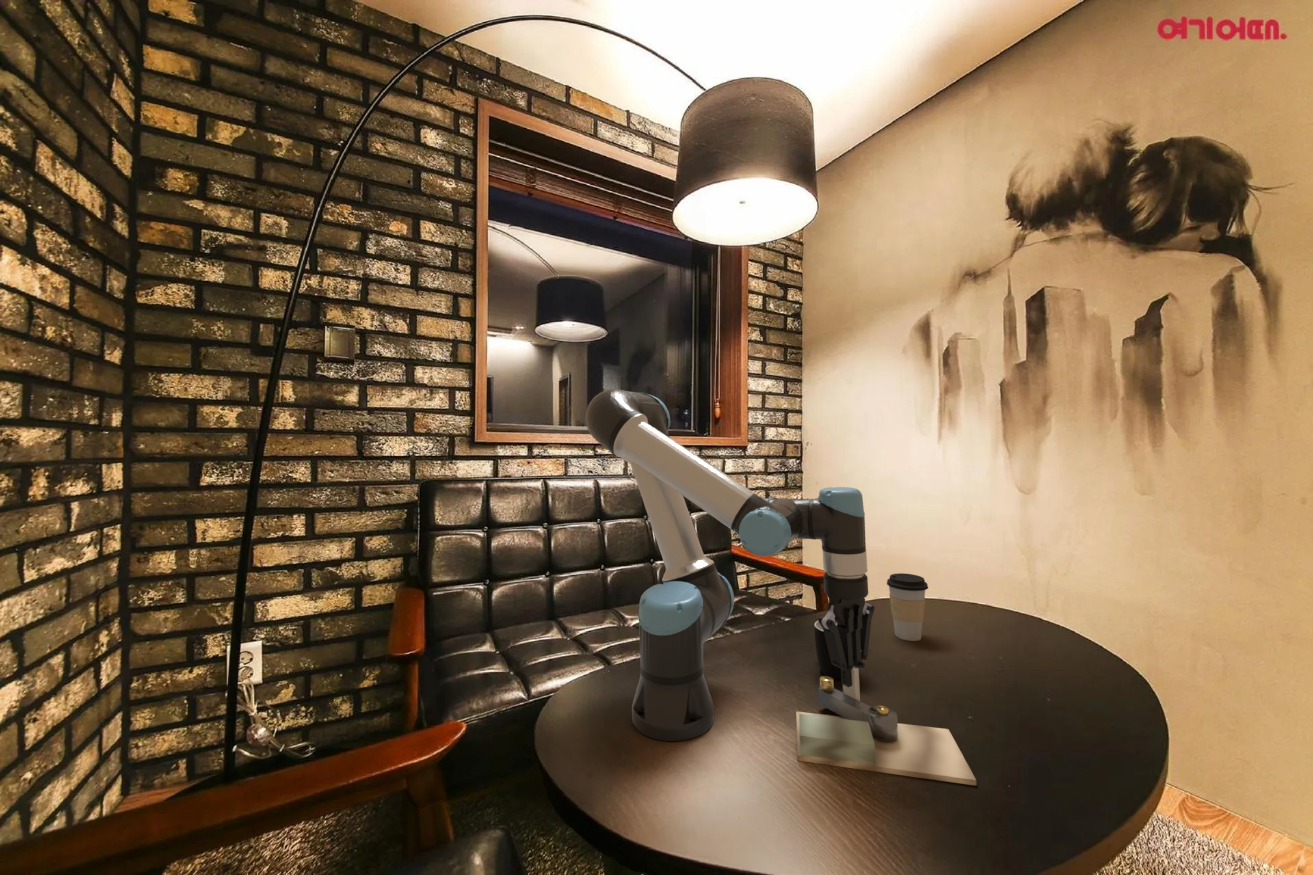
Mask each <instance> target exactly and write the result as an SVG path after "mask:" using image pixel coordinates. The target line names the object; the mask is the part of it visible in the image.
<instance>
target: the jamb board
mask: <svg viewBox="0 0 1313 875" xmlns="http://www.w3.org/2000/svg"><path fill="white" fill-rule="evenodd" d="M795 714H796V717H795V718H796V752H797V753H796V754H797V755H796V757H797V761H800V762H804V763H805V762H807V763H814V764H821V765H828V766H836V767H842V768H849V769H855V770H863V771H869V772H877V773H884V774H891V775H898V776H903V777H904V776H905V777H912V778H919V779H925V780H926V779H927V780H932V781H933V780H935V781H940V782H949V783H955V784H962V785H968V786H977V779H976V777H975V775H974V774H973V772H972V770H971V767H970V766H969V764H968V763H967V762H968V761H966V759H965V757H964V755H963V753H962V751H961V750H960V748H959V746H958V744H957V742H956V740H955V739H954V737H953V735H952V733H951V731H950V730H949V728H943V727H942V728H941V727H931V726H923V725H916V724H915V725H914V724H907V723H898V722H897V723H898V739H897V740H896V741H894V742H883V741H880V740H877V739H875V738H874V737H872V733H871V729H870V726H869V722H864V721H855V720H847V719H846V718H844V717H842V716H840V715H839V716H838V715H831V714H822V713H814V712H813V713H812V712H806V711H805V712H803V711H796V713H795Z"/></svg>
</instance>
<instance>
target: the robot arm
mask: <svg viewBox="0 0 1313 875" xmlns="http://www.w3.org/2000/svg"><path fill="white" fill-rule="evenodd" d="M585 424H586V428H587V429H588V432H589V434H590V435H591V436H592V438H593V439H594V440H595V441H596V442H597V443H599V444H600V445H601V446H602V447H603V448H605V449H606V450H608V451H609V452H611V453H612V454H613V455H615V456H616V457H618V458H620V459H621V460H623V461H625V462H627V463H628V464H630V467H631V469H632V473H633V474H634V478H635V480H636V483H637V487H638V490H639V492H640V493H639V494H640V496H641V498H642V502H643V504H644V508H645V511H646V513H647V517H648V519H649V523H650V526H651V528H652V531H653V534H654V537H655V540H656V543H657V546H658V549H659V552H660V554H661V557H662V561H663V563H664V567H665V572H664V573H663V577H662V584H661V583H657V584H654V585H653V586H650V587H649V588H648V589H646V590H645V591H644V592H643V593H642V594H641V596H640V600H639V607H638V608H639V610H638V615H637V616H638V619H637V620H638V625H639V626H638V628H639V659H640V660H639V661H640V664H639V665H640V677H639V680H638V684H637V686H636V690H635V694H634V696H633V697H634V698H633V699H632V705H631V720H632V721H631V722H632V724H633V726H634V728H635V729H636V730H637V731H639V732H640V733H641V734H642V735H645V736H646V737H648V738H652V739H655V740H659V741H664V742H666V741H667V742H681V741H689V740H692V739H694V738H697V737H699V736H702V735H703V734H705V733H707V732H708V731H709V730H710V728H712V726H713V724H714V721H715V706H714V702H713V698H712V695H711V693H710V691H709V690H710V689H709V688H708V684H707V681H706V678H705V674H704V643H706V641H707V640H708V639H710V638H711V636H713V635H714V634H715V633H716V632H717V631H719V630H720V629H721V628H722V627H724V625H726V623H727V621H728V619H730V616H731V614H732V613H733V609H734V607H735V606H734V605H735V596H734V595H735V594H734V590H733V588H732V585H731V583H730V582H729V580H728V579H727V578H726V577H725V576H724V575H722V574H721V573H720V572H718V570H717V567H716V565H715V561H714V560H712V558H709V557H707V556H705V554H704V551H703V548H702V546H701V543H700V540H699V537H698V535H697V532H696V529H695V527H694V523H693V521H692V517H691V515H690V512H689V510H688V509H689V508H688V507H687V503H686V499H687V500H688V501H690V502H691V503H693V504H694V505H695V506H696V507H699V508H700V509H701V510H703V511H705V512H706V513H707V514H708V515H710V516H711V517H712V518H714V519H716V520H717V521H719V522H720V523H721V524H723V525H724V526H726V527H728V529H730V530H731V531H733V532H734V533H735V534H737V535H738V538H739V539H740V542H741V544H742V545H743V547H744V548H745V550H747V552H748V553H750V554H753V555H755V556H756V557H770V556H773V555H775V554H778V553H780V552H782V551H783V550H784V549H785V548H787V546H788V545H789V543H791V542H793V541H794V540H795V539H796V540H797V539H798V540H802V539H803V540H820V541H821V550H822V566H823V571H824V574H823V591H824V593H825V594H826V596H827V597H828V602H827V611H828V612H827V613H826V614H825V616H819V617H818V620H817V621H818V622H819V623H820V625H821V627H822V628H823V631H824V635H825V639H826V643H827V647H828V651H829V655H830V659H831V663H832V664H833V665H835V666H837V667H839V668H841V680H840V681H841V685H842V692H843V693H844V694H846V695H848V696H850V697H852V698H854V699H857V700H859V701H861V696H860V693H861V692H860V682H861V673H860V672H861V670H860V668H861V669H864V668H865V666H866V663H864V662H863V660H864V661H866V660H867V659H868V657H869V656H868V655H869V647H870V646H869V645H870V638H871V637H870V636H871V628H872V618H873V614H874V612H875V608H876V607H875V605H873V604H869V603H867V602H866V598H867V597H868V596H869V578H868V575H867V572H868V560H867V559H868V558H867V547H866V545H867V543H866V522H865V521H866V514H865V509H864V508H865V507H864V500H863V494H862V492H861V491H860V490H859V489H857V488H855V487H849V486H846V487H845V486H836V487H830V486H829V487H824V488H821V489H820V490H819V492H818V493H819V494H818V496H817V498H782V497H781V498H779V497H771V498H770V497H769V498H763V497H761V496H759V495H758V494H756V493H755V492H753V491H752V490H751V489H749V488H748V487H747V486H744V485H743V484H742V483H740V482H739V481H737V480H735V479H733V478H732V477H731V476H729V475H728V474H726V473H725V472H723V471H721V470H720V469H719V468H717V467H715V466H714V465H713V464H711V463H709V462H708V461H707V460H705V459H703V458H702V457H700V456H698V455H697V454H695V453H694V452H693V451H690V450H689V449H688V448H686V447H685V446H683V445H682V444H680V443H678V441H675V440H674V439H672V438H671V437H670V434H669V428H670V427H671V415H670V412H669V409H668V408H667V406H666V405H665V403H664V402H663V401H662V400H661V399H660V398H658V397H656V396H654V395H651V394H649V393H646V392H639V391H638V392H635V391H629V390H628V391H627V390H623V389H616V388H614V389H612V388H611V389H607V390H603V391H601V392H599V393H598V394H597V395H595V396H593V398H592V399H591V400H590V402H589V404H588V405H587V409H586V413H585ZM685 498H686V499H685Z"/></svg>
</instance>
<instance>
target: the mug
mask: <svg viewBox="0 0 1313 875" xmlns="http://www.w3.org/2000/svg"><path fill="white" fill-rule="evenodd" d="M813 630H814V631H813V633H814V644H815V651H816V656H817V657H816V658H817V661H818V666H819V668H820V671H821V673H822V674H823V676H828V677H831V678H833V680H840V681H841V668H839V667H837V666H835V665H833V664H832V663H831V659H830V655H829V651H828V647H827V643H826V639H825V635H824V631H823V628H822V627H821V625H820V623H819V622H818V620H817V621H815V622H814V626H813Z"/></svg>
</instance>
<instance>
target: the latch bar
mask: <svg viewBox="0 0 1313 875" xmlns="http://www.w3.org/2000/svg"><path fill="white" fill-rule="evenodd" d="M817 699H818V700H817V702H818V703H817V704H818V705H820V706H822V707H824V708H825V709H828V710H830V711H831V712H833V713H835V714H837V716H838V715H839V717H844V718H846V719H847V720H855V721H864V722H869V726H870V729H871V733H872V737H874V738H875V739H877V740H880V741H883V742H894V741H896V740H897V739H898V714H897V712H896V711H895V710H893V709H891V708H890V707H887V706H885V705H876V706H875V705H874V706H871V705H869V704H867V703H865V702H863V701H861V700H860V701H859V700H857V699H854V698H852V697H850V696H848V695H846V694H844V693H843V691H840V690H838V689H836V688H835V687H834V679H833V678H831V677H828V676H826V675H822V676H820V677H819V687H818V688H817Z"/></svg>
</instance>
